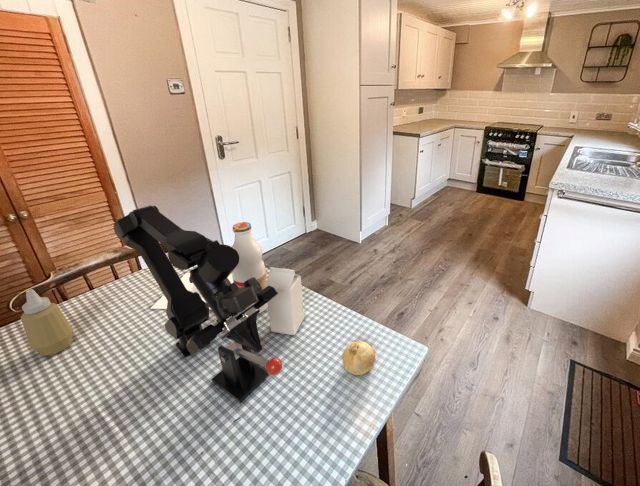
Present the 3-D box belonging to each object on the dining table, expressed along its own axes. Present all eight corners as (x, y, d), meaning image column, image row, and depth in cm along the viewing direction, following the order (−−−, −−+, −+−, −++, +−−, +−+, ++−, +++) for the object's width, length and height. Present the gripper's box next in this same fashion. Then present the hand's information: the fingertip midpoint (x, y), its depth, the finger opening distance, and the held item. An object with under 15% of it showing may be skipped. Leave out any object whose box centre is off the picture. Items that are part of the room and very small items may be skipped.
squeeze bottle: (83, 341, 81) (59, 285, 75) (44, 364, 75) (13, 305, 68) (68, 332, 85) (43, 277, 78) (28, 353, 78) (-3, 295, 71)
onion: (354, 348, 80) (353, 327, 77) (380, 361, 76) (381, 340, 73) (336, 371, 73) (335, 349, 71) (364, 386, 70) (364, 363, 67)
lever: (287, 369, 62) (283, 356, 61) (275, 381, 59) (271, 368, 58) (239, 350, 70) (235, 338, 69) (227, 359, 68) (222, 347, 67)
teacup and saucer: (212, 293, 101) (210, 283, 99) (188, 293, 101) (186, 283, 99) (224, 278, 109) (222, 268, 108) (202, 278, 109) (200, 268, 108)
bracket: (268, 376, 72) (263, 341, 68) (240, 404, 65) (232, 367, 61) (241, 358, 77) (234, 324, 73) (212, 382, 70) (203, 347, 66)
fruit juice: (271, 311, 93) (260, 229, 83) (239, 319, 90) (223, 234, 79) (268, 293, 101) (257, 216, 91) (237, 300, 98) (223, 221, 87)
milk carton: (294, 336, 84) (288, 277, 77) (271, 332, 85) (262, 274, 78) (304, 318, 90) (299, 263, 83) (282, 315, 92) (275, 260, 85)
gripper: (181, 300, 51) (234, 378, 49) (267, 253, 66) (309, 311, 64) (167, 320, 57) (213, 389, 56) (248, 273, 72) (286, 327, 71)
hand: (260, 351), depth 62 cm, fingers closed
